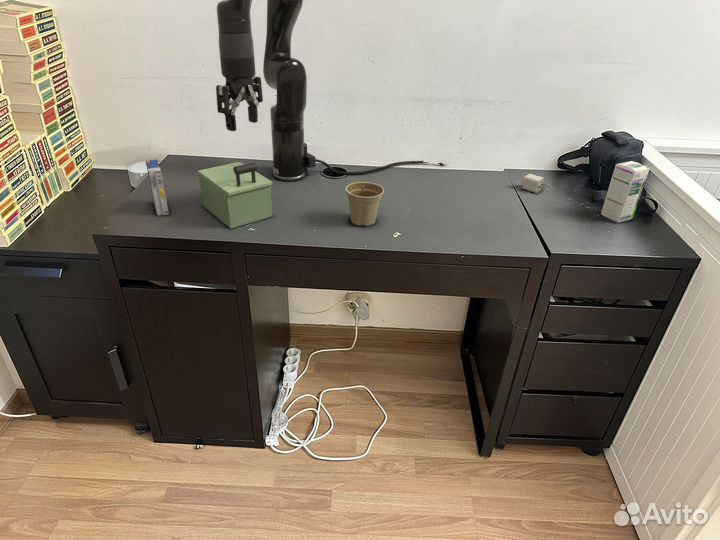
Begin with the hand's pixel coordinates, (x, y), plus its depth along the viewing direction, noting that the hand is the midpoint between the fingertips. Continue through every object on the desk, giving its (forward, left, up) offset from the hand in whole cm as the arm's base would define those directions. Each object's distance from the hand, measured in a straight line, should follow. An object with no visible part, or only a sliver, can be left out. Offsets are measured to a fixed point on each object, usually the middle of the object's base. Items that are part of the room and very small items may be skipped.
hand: (242, 126), depth 121 cm
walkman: (+19, -11, -21) cm, 30 cm away
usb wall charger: (-73, +38, -21) cm, 85 cm away
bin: (+4, +1, -21) cm, 21 cm away
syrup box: (-76, +61, -21) cm, 100 cm away
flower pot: (-19, +24, -21) cm, 37 cm away
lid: (+4, +2, -12) cm, 13 cm away
